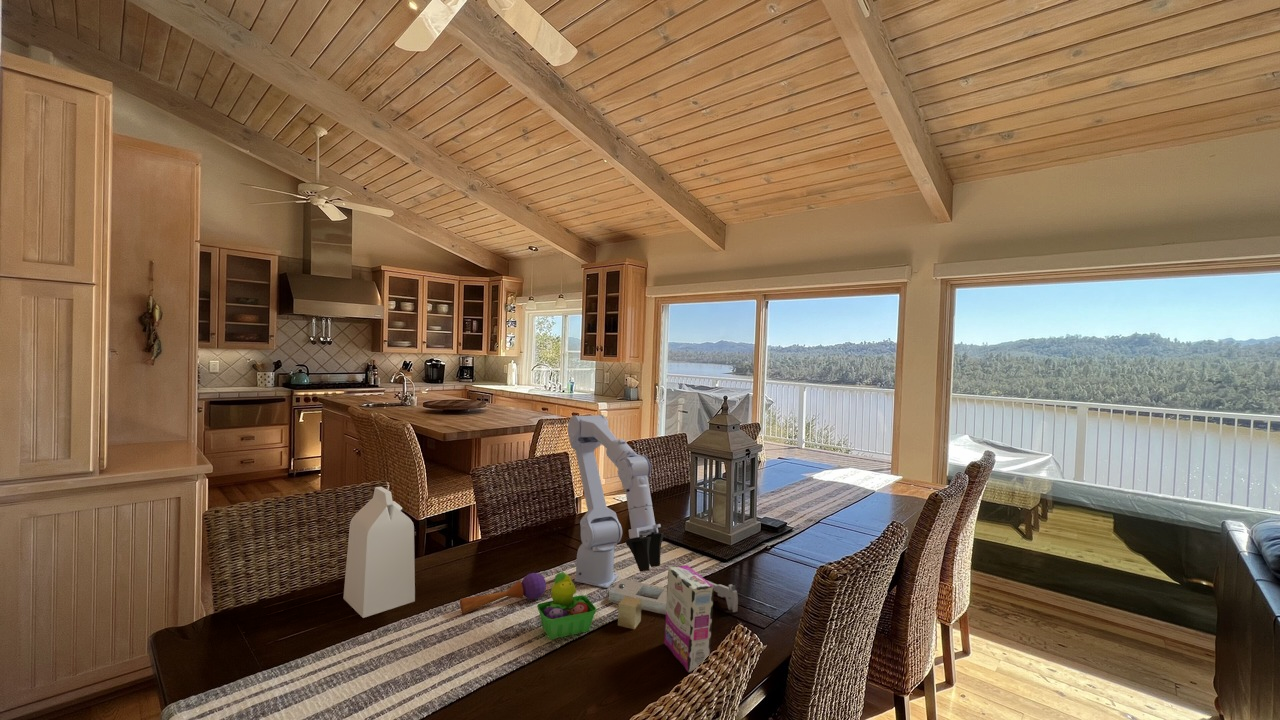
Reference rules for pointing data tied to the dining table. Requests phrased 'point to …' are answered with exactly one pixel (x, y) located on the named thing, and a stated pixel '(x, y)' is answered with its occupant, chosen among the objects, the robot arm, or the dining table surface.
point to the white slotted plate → (640, 595)
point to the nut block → (629, 612)
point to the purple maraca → (508, 593)
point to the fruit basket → (565, 610)
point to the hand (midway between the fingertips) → (650, 568)
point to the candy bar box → (688, 616)
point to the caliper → (727, 595)
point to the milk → (380, 557)
